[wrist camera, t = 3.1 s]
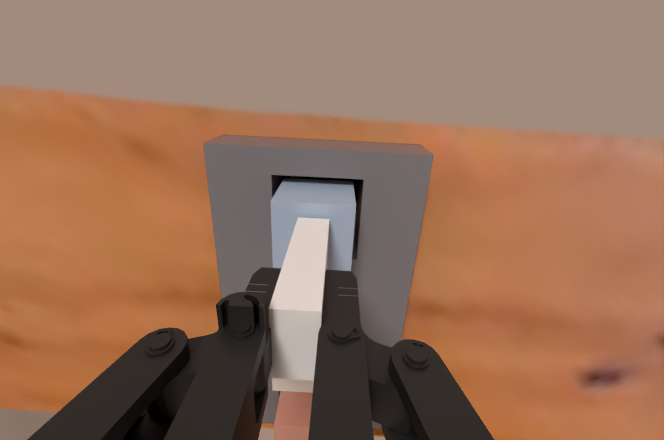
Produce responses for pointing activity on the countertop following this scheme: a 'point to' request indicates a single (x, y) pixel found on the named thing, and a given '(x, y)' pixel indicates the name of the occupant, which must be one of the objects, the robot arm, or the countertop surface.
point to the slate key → (315, 216)
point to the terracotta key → (293, 416)
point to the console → (371, 220)
